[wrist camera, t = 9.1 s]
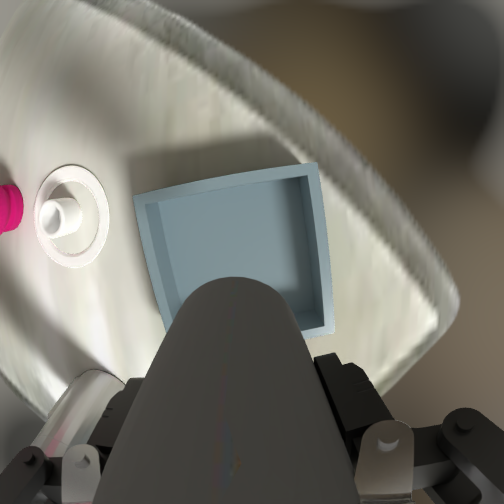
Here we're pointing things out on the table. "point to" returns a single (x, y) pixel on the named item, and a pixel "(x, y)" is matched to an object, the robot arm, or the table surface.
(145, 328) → the table surface
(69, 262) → the candle holder
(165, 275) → the tote
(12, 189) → the pepper mill
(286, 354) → the bottle
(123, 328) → the table surface
